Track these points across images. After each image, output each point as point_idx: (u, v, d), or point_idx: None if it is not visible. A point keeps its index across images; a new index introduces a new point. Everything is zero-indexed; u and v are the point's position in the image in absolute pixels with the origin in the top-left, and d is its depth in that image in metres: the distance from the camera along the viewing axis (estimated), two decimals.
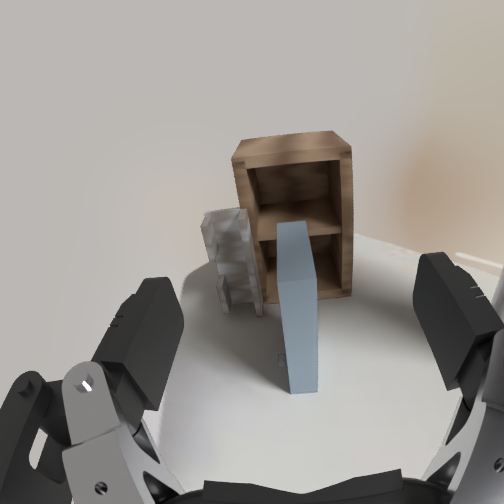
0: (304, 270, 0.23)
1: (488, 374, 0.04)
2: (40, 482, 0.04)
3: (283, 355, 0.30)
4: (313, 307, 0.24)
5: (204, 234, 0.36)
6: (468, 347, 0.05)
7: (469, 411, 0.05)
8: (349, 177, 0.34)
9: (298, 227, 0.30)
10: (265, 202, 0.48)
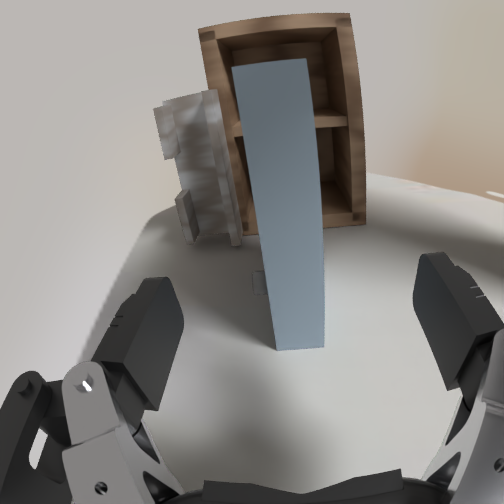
0: None
1: (488, 374, 0.04)
2: (40, 482, 0.04)
3: (261, 272, 0.18)
4: (307, 125, 0.11)
5: (158, 119, 0.24)
6: (468, 347, 0.05)
7: (469, 411, 0.05)
8: (351, 49, 0.22)
9: None
10: None
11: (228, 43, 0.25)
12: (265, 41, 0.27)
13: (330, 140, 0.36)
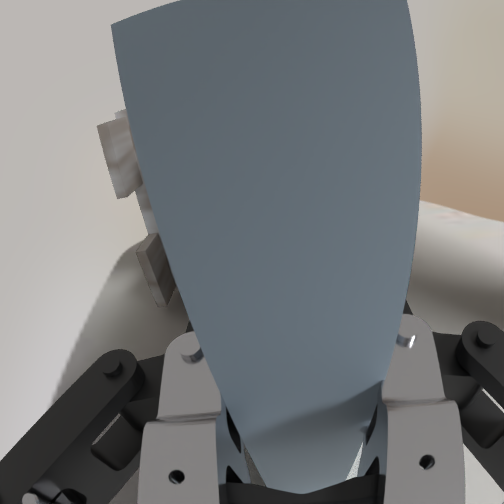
0: None
1: None
2: (95, 468, 0.05)
3: None
4: (393, 239, 0.03)
5: (104, 141, 0.16)
6: None
7: None
8: None
9: None
10: None
11: None
12: None
13: None
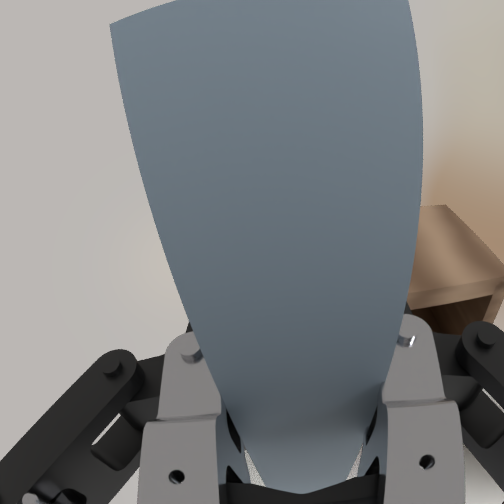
0: None
1: None
2: (95, 468, 0.05)
3: None
4: (395, 240, 0.03)
5: None
6: None
7: None
8: (493, 315, 0.17)
9: None
10: None
11: None
12: None
13: None
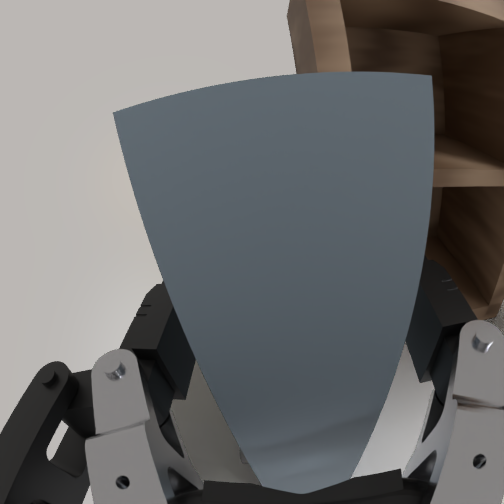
0: None
1: (457, 369, 0.04)
2: (55, 475, 0.04)
3: None
4: (390, 320, 0.04)
5: None
6: (436, 338, 0.06)
7: (443, 405, 0.05)
8: None
9: None
10: None
11: None
12: (382, 18, 0.13)
13: None
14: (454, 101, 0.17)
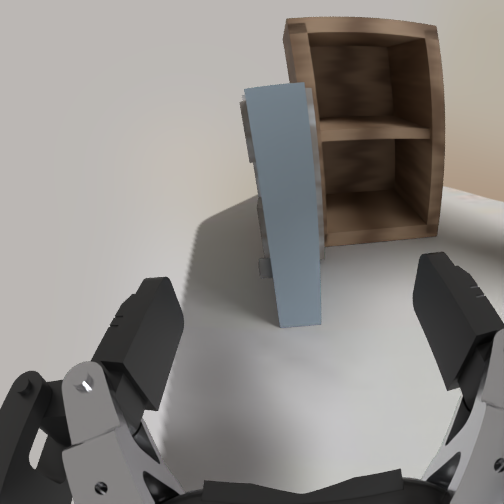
0: None
1: (488, 374, 0.04)
2: (40, 482, 0.04)
3: (266, 259, 0.21)
4: (305, 137, 0.15)
5: (245, 115, 0.21)
6: (468, 347, 0.05)
7: (469, 411, 0.05)
8: (438, 62, 0.19)
9: None
10: None
11: (308, 39, 0.23)
12: (341, 41, 0.24)
13: (393, 148, 0.34)
14: (397, 91, 0.28)
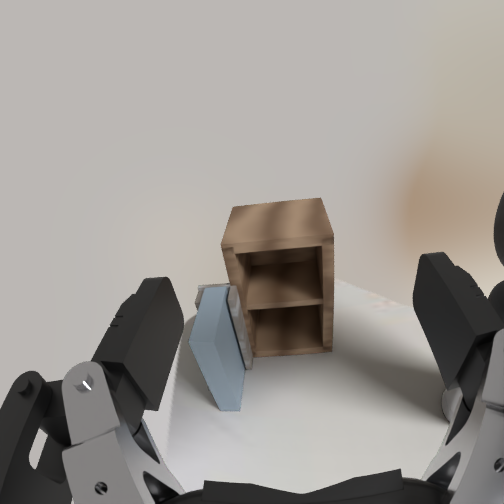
0: (208, 334, 0.33)
1: (488, 374, 0.04)
2: (40, 482, 0.04)
3: None
4: (217, 358, 0.33)
5: (198, 308, 0.40)
6: (468, 347, 0.05)
7: (469, 411, 0.05)
8: (330, 260, 0.38)
9: (218, 293, 0.39)
10: (255, 263, 0.52)
11: None
12: None
13: None
14: (316, 249, 0.47)
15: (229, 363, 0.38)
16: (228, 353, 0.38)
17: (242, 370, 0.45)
